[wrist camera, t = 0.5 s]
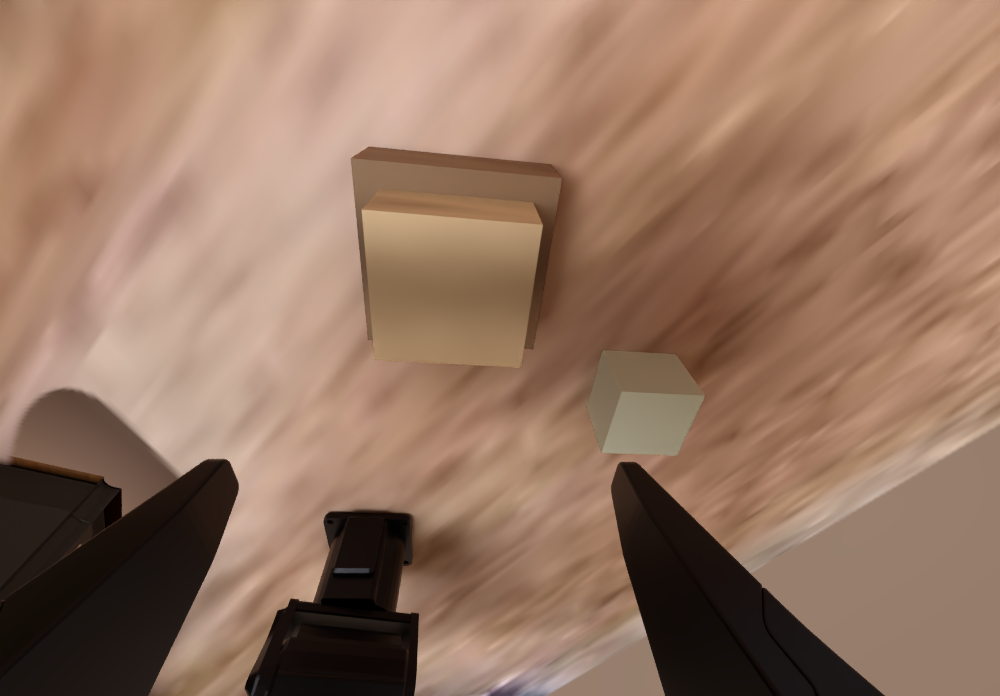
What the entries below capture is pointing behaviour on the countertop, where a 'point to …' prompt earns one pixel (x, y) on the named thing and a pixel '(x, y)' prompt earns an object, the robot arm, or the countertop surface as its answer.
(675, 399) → the cap block
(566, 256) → the countertop surface
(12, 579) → the treasure chest
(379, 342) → the oak middle block
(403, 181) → the walnut base
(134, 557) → the robot arm
